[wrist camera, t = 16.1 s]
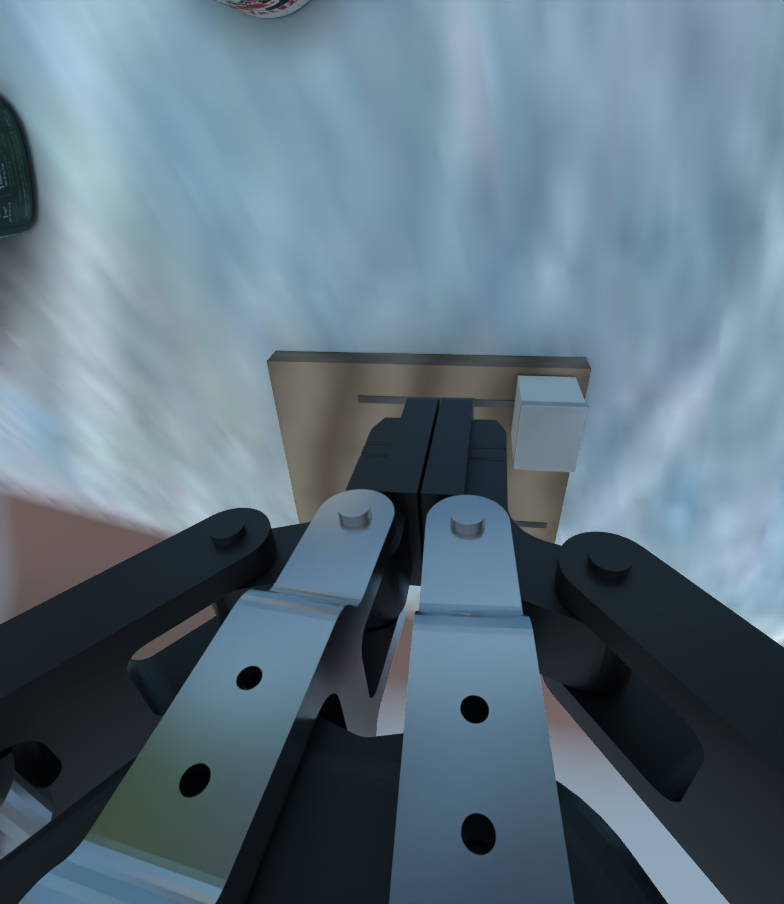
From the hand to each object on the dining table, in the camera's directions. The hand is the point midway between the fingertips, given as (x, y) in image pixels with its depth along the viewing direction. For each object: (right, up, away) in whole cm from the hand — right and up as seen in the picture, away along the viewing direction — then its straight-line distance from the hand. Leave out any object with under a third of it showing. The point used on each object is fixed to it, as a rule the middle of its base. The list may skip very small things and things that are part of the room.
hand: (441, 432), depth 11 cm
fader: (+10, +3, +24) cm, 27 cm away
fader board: (+2, 0, +31) cm, 31 cm away
